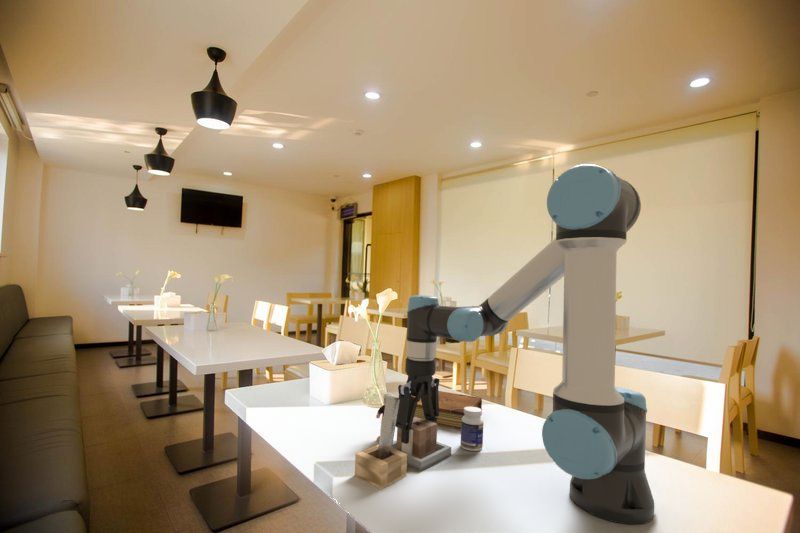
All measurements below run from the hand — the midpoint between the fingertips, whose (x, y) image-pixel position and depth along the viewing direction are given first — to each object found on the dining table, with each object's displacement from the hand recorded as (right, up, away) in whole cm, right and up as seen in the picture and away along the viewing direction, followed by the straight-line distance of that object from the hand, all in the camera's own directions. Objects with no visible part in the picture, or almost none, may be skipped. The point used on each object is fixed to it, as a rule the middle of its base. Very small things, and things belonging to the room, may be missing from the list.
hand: (416, 450), depth 102 cm
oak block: (-8, -1, -11) cm, 14 cm away
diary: (+9, -3, +31) cm, 32 cm away
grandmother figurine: (-8, -1, +8) cm, 11 cm away
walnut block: (0, 0, 0) cm, 0 cm away
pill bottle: (+15, -2, +6) cm, 16 cm away
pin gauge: (-8, +1, -11) cm, 14 cm away
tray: (0, -1, 0) cm, 1 cm away
